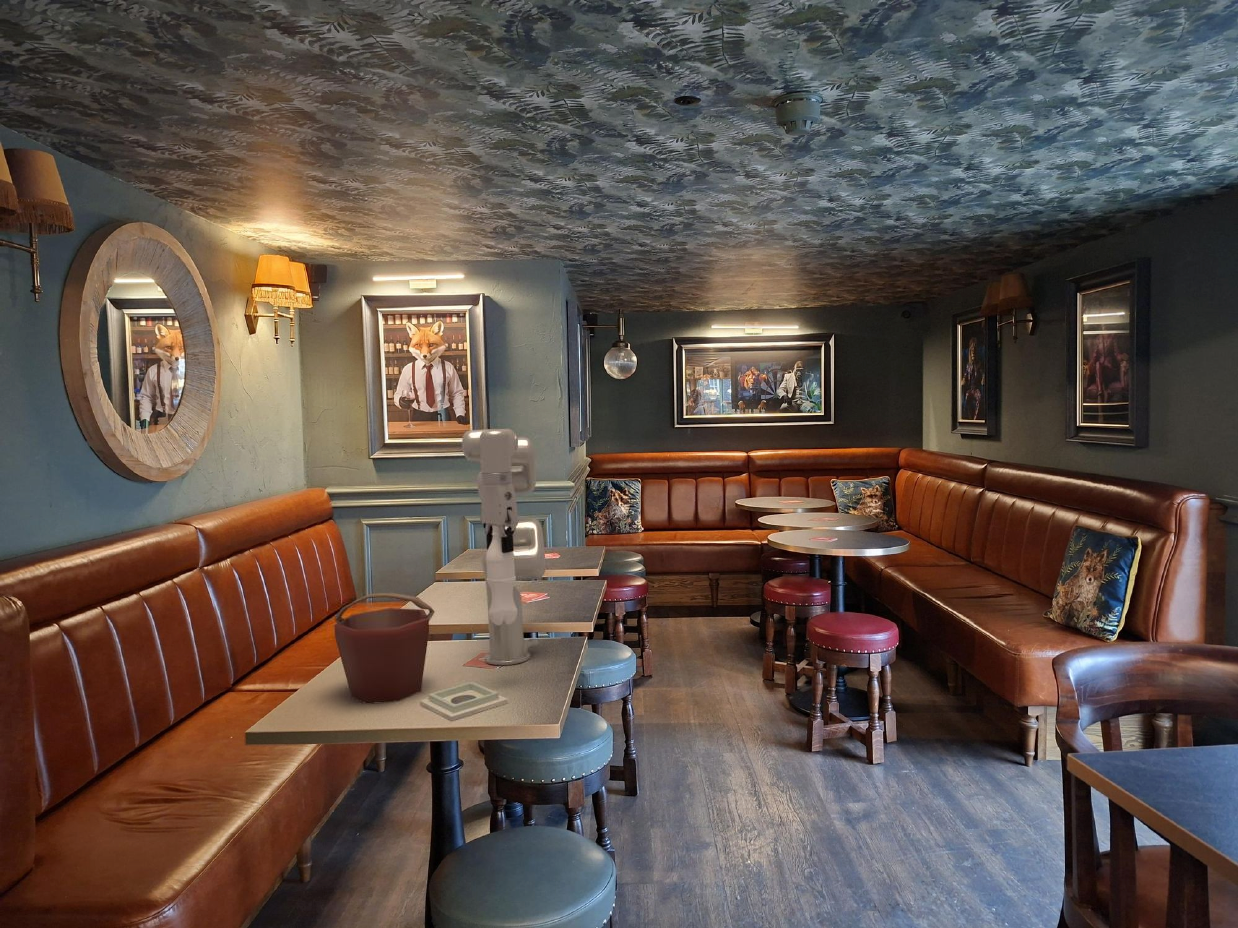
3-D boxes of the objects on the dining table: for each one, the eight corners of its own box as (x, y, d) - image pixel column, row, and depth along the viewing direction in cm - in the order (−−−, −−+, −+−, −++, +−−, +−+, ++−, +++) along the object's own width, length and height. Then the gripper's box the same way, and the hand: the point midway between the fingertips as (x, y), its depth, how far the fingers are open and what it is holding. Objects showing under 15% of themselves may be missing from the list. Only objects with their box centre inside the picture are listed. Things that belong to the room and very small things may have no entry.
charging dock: (474, 688, 199) (474, 678, 199) (507, 702, 188) (507, 692, 188) (420, 704, 189) (419, 694, 189) (451, 720, 178) (451, 710, 178)
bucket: (452, 680, 206) (447, 585, 204) (404, 712, 185) (398, 606, 183) (371, 675, 213) (366, 583, 212) (317, 704, 192) (310, 602, 191)
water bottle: (489, 627, 196) (483, 527, 195) (489, 620, 203) (483, 523, 202) (518, 625, 197) (513, 525, 196) (517, 618, 204) (512, 522, 203)
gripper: (529, 479, 194) (532, 552, 195) (490, 477, 207) (494, 545, 208) (503, 482, 189) (507, 556, 190) (465, 479, 202) (469, 549, 203)
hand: (500, 550), depth 199 cm, fingers closed on water bottle, 6 cm apart
